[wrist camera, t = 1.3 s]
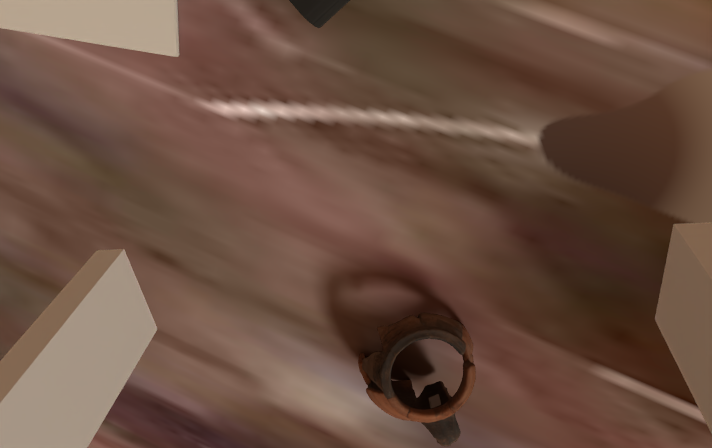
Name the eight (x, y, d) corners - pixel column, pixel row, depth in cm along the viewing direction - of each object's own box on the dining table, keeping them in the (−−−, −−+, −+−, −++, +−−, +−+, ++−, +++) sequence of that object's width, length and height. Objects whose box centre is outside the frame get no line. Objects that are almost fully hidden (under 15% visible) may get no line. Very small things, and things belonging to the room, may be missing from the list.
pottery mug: (331, 332, 48) (344, 364, 40) (422, 272, 49) (453, 292, 41) (402, 440, 50) (428, 492, 42) (488, 381, 51) (530, 421, 43)
